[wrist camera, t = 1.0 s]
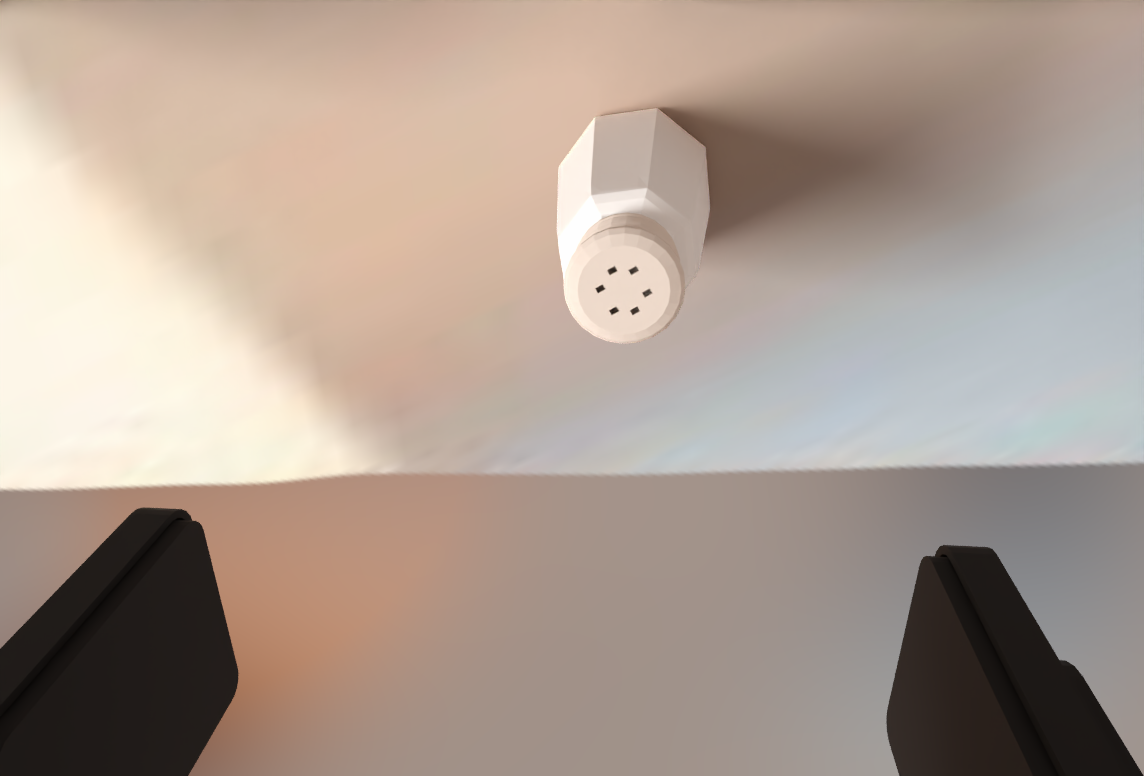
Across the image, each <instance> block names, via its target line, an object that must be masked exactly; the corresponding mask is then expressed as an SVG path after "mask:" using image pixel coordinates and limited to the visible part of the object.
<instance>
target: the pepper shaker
mask: <svg viewBox="0 0 1144 776" xmlns="http://www.w3.org/2000/svg"><path fill="white" fill-rule="evenodd" d="M709 213H710V198H709V185H708V172H707V160H706V147H705V146H704V145H702V144H701V143H700V142H699V141H697V140H696V139H695V138H694V137H692V136H691V135H690V134H689V133H688V132H686V131H685V130H684V129H683V128H681V127H680V126H679V125H678V124H676V123H675V122H674V121H673V120H672V119H670V118H669V117H668V116H667V115H665V114H664V113H663V112H662V111H660V110H659V109H658V108H653V109H646V110H639V111H632V112H625V113H618V114H611V115H604V116H597V117H594V119H593V120H592V122H591V123H590V124H589V126H588V127H587V128H586V130H585V131H584V133H583V134H582V135H581V137H580V138H579V139H578V141H577V142H576V144H575V145H574V146H573V148H572V149H571V150H570V152H569V153H568V155H567V156H566V157H565V159H564V160H563V161H562V163H561V164H560V166H559V170H558V206H557V234H558V244H559V252H560V258H561V265H562V271H563V277H564V286H563V287H564V293H565V299H566V303H567V305H568V307H569V309H570V312H571V314H572V316H573V317H574V318H575V319H576V321H577V322H578V323H579V324H580V325H581V327H583V328H584V329H585V330H587V331H588V332H589V333H591V334H592V335H594V336H596V337H598V338H601V339H603V340H606V341H608V342H615V343H622V344H625V343H635V342H641V341H643V340H646V339H649V338H652V337H654V336H655V335H657V334H658V333H660V332H661V331H663V330H664V329H666V328H667V327H668V326H669V324H670V323H671V322H672V321H673V320H674V319H675V318H676V316H677V314H678V312H679V310H680V308H681V306H682V304H683V299H684V294H685V289H686V288H687V286H688V285H689V284H690V283H691V282H692V281H693V279H694V278H695V277H696V275H697V272H698V270H699V266H700V261H701V255H702V250H703V245H704V239H705V234H706V229H707V223H708V218H709Z"/></svg>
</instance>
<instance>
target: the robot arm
mask: <svg viewBox="0 0 1144 776" xmlns="http://www.w3.org/2000/svg"><path fill="white" fill-rule="evenodd" d="M237 684H238V668H237V664H236V660H235V656H234V651H233V648H232V644H231V639H230V636H229V631H228V627H227V623H226V619H225V615H224V611H223V607H222V603H221V599H220V595H219V591H218V587H217V583H216V579H215V575H214V571H213V566H212V562H211V558H210V555H209V551H208V546H207V542H206V538H205V534H204V530H203V528H202V526H201V524H200V523H199V522H196V521H192V519H191V516H190V515H189V514H188V513H187V511H184V510H182V509H162V508H140V509H137V510H135V511H134V512H133V513H131V515H129V516H128V518H127V519H126V520H125V521H124V522H123V523H122V524H121V525H120V526H119V527H118V528H117V529H116V530H115V531H114V532H113V533H112V534H111V535H110V536H109V537H108V538H107V539H106V540H105V541H104V542H103V543H102V544H101V545H100V546H99V548H98V549H97V550H96V551H95V552H94V553H93V554H92V555H91V556H90V557H89V558H88V559H87V560H86V561H85V562H84V563H83V564H82V565H81V566H80V567H79V568H78V569H77V570H76V571H75V572H74V573H73V574H72V575H71V576H70V578H69V579H67V580H66V582H65V583H64V584H63V585H62V586H61V587H60V588H59V589H58V590H57V591H56V592H55V593H54V594H53V595H52V596H51V597H50V598H49V599H48V600H47V601H46V602H45V603H44V604H43V605H42V606H41V607H40V608H39V609H38V610H37V612H35V614H34V615H33V616H32V617H31V618H30V619H29V620H28V621H27V622H26V623H25V624H24V625H23V626H22V627H21V628H20V629H19V630H18V631H17V632H16V633H15V634H14V635H13V636H12V637H11V638H10V639H9V640H8V641H7V643H5V645H4V646H3V647H2V648H1V649H0V776H188V775H189V773H190V772H191V770H192V768H193V767H194V765H195V763H196V761H197V760H198V758H199V756H200V754H201V753H202V751H203V749H204V747H205V746H206V744H207V742H208V741H209V739H210V737H211V735H212V734H213V732H214V730H215V729H216V727H217V725H218V723H219V722H220V720H221V718H222V717H223V715H224V713H225V711H226V709H227V708H228V706H229V704H230V703H231V701H232V699H233V697H234V695H235V692H236V689H237ZM887 733H888V739H889V743H890V746H891V750H892V753H893V756H894V759H895V763H896V766H897V769H898V772H899V776H1143V774H1142V773H1141V771H1140V769H1139V768H1138V766H1137V764H1136V763H1135V761H1134V760H1133V758H1132V756H1131V755H1130V753H1129V751H1128V750H1127V748H1126V746H1125V745H1124V743H1123V742H1122V740H1121V738H1120V737H1119V735H1118V733H1117V732H1116V730H1115V728H1114V727H1113V725H1112V724H1111V722H1110V720H1109V719H1108V717H1107V715H1106V714H1105V712H1104V711H1103V709H1102V707H1101V706H1100V704H1099V702H1098V701H1097V699H1096V698H1095V696H1094V694H1093V692H1092V691H1091V689H1090V688H1089V686H1088V684H1087V683H1086V681H1085V679H1084V678H1083V676H1081V674H1080V673H1079V671H1078V670H1077V669H1076V668H1075V666H1073V665H1072V664H1070V663H1069V662H1067V661H1062V660H1059V659H1058V657H1057V656H1056V654H1055V652H1054V650H1053V649H1052V647H1051V645H1050V644H1049V642H1048V640H1047V639H1046V637H1045V635H1044V634H1043V632H1042V630H1041V629H1040V627H1039V625H1038V623H1037V622H1036V620H1035V618H1034V617H1033V615H1032V613H1031V612H1030V610H1029V608H1028V607H1027V605H1026V603H1025V601H1024V600H1023V598H1022V597H1021V595H1020V593H1019V591H1018V590H1017V588H1016V586H1015V585H1014V583H1013V581H1012V579H1011V578H1010V576H1009V575H1008V573H1007V571H1006V569H1005V568H1004V566H1003V564H1002V563H1001V561H1000V559H999V557H998V556H997V554H996V553H995V552H994V551H993V549H991V548H988V547H972V546H951V545H943V546H940V547H939V548H938V550H937V551H936V554H935V556H933V557H932V556H925V557H923V559H922V560H921V563H920V566H919V571H918V575H917V580H916V584H915V589H914V593H913V597H912V602H911V607H910V611H909V615H908V620H907V624H906V629H905V634H904V638H903V642H902V647H901V651H900V656H899V660H898V665H897V669H896V673H895V678H894V682H893V687H892V692H891V696H890V700H889V705H888V710H887Z"/></svg>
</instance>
